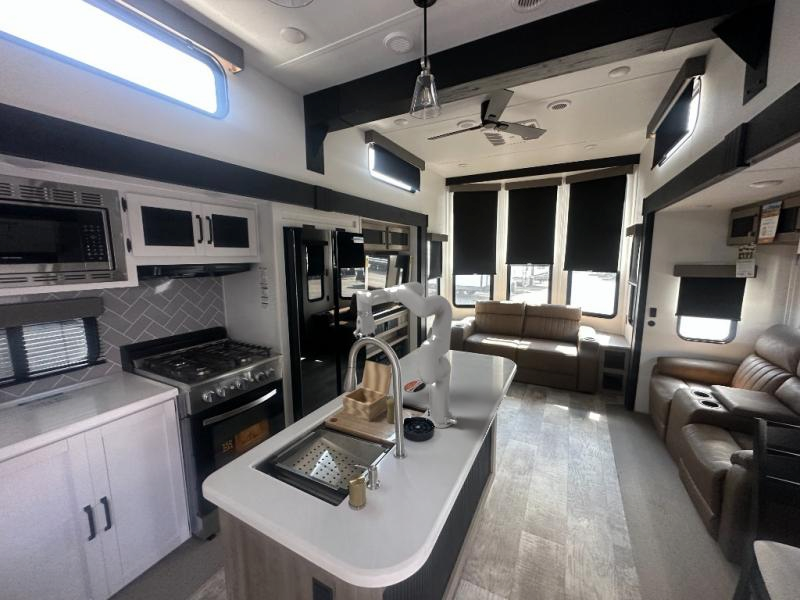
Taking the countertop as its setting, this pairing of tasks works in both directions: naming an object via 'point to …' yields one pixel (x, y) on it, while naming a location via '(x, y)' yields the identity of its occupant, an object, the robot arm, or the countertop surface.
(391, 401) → the tan tapered cylinder
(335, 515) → the countertop surface
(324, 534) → the countertop surface
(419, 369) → the robot arm
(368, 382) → the box lid
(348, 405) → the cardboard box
